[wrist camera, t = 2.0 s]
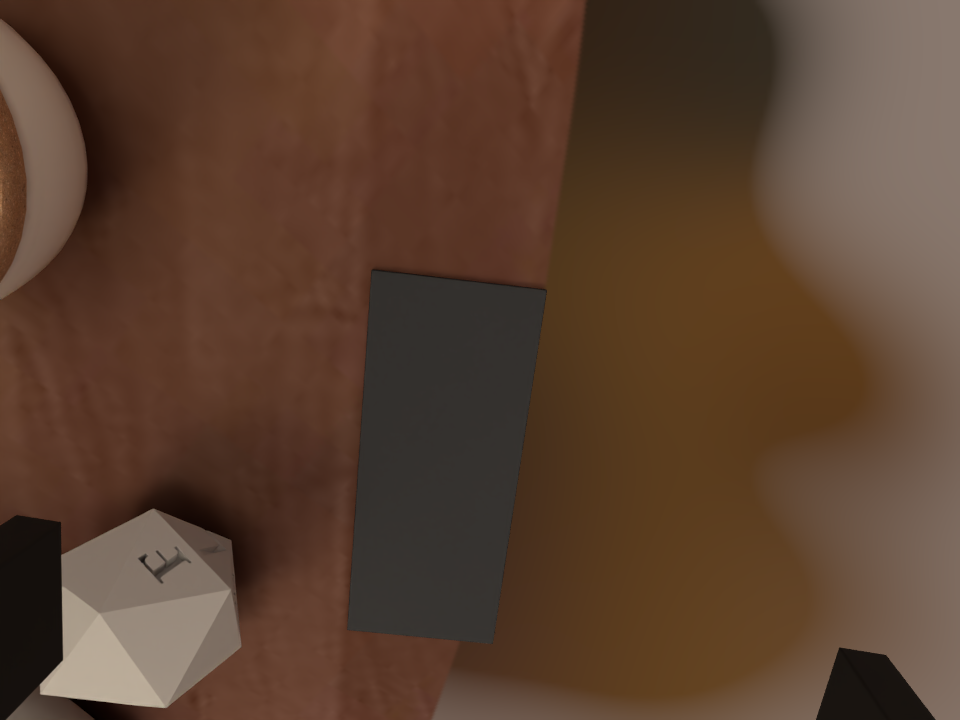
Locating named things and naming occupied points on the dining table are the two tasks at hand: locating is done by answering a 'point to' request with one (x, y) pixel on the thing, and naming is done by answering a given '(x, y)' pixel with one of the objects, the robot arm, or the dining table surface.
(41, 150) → the cork-lidded white jar
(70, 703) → the bent grey cylinder
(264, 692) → the dining table surface
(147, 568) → the die
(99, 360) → the dining table surface
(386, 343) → the edge mat
